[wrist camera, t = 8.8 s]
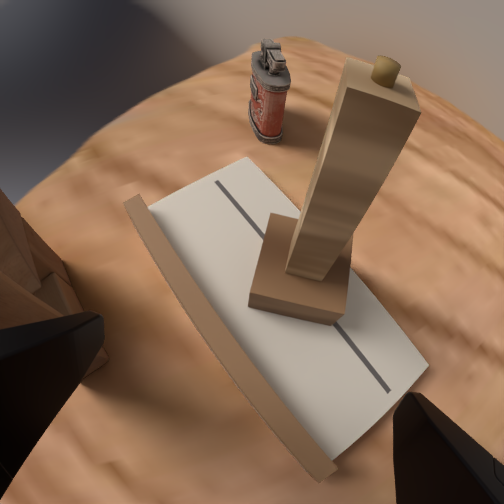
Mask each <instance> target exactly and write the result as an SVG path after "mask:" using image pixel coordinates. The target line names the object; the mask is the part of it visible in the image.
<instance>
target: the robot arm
mask: <svg viewBox="0 0 504 504" xmlns="http://www.w3.org/2000/svg"><path fill="white" fill-rule="evenodd" d="M104 339H105V335H104V318H103V316H102V315H101V314H99V313H97V312H94V311H92V310H89V311H85V312H80V313H76V314H71V315H67V316H62V317H57V318H53V319H48V320H43V321H38V322H34V323H29V324H24V325H19V326H14V327H10V328H5V329H0V500H1V498H2V496H3V495H4V493H5V491H6V490H7V488H8V487H9V485H10V484H11V482H12V480H13V478H14V477H15V475H16V474H17V472H18V471H19V469H20V468H21V466H22V465H23V463H24V461H25V460H26V458H27V457H28V455H29V454H30V452H31V451H32V450H33V448H34V447H35V445H36V444H37V442H38V441H39V439H40V438H41V436H42V435H43V434H44V432H45V431H46V429H47V428H48V426H49V425H50V424H51V422H52V421H53V419H54V418H55V417H56V415H57V414H58V412H59V411H60V410H61V408H62V407H63V405H64V404H65V403H66V401H67V400H68V399H69V397H70V396H71V395H72V393H73V392H74V391H75V389H76V388H77V386H78V385H79V384H80V382H81V381H82V379H83V377H84V376H85V374H86V372H87V371H88V369H89V367H90V366H91V364H92V362H93V360H94V359H95V357H96V355H97V354H98V352H99V350H100V349H101V347H102V345H103V343H104ZM393 462H394V475H395V488H396V504H504V465H502V464H501V463H500V462H499V461H498V460H497V459H496V458H493V456H492V455H491V454H490V453H489V452H488V451H486V450H485V449H484V448H483V447H482V446H481V445H480V444H478V443H477V442H476V441H475V440H474V439H473V438H472V437H470V436H469V435H468V434H467V433H466V432H465V431H464V430H462V429H461V428H460V427H459V426H458V425H457V424H456V423H454V422H453V421H452V420H451V419H450V418H449V417H448V416H446V415H445V414H444V413H443V412H442V411H441V410H440V409H438V408H437V407H436V406H435V405H434V404H433V403H432V402H430V401H429V400H428V399H427V398H426V397H425V396H423V395H422V394H421V393H417V392H408V393H407V394H406V395H405V396H404V398H403V399H402V401H401V403H400V404H399V406H398V407H397V409H396V410H395V412H394V415H393Z"/></svg>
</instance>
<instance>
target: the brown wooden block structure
mask: <svg viewBox="0 0 504 504" xmlns="http://www.w3.org/2000/svg"><path fill="white" fill-rule="evenodd" d="M80 312H84V310H83V308H82V306H81V304H80V302H79V300H78V298H77V296H76V293H75V291H74V289H73V288H72V287H71V282H70V280H69V278H68V275H67V273H66V271H65V268H64V266H63V263H62V261H61V258H60V257H59V256H58V255H57V254H56V253H55V252H54V251H53V250H52V249H51V248H50V247H49V246H48V245H47V244H46V243H45V242H44V241H43V240H42V239H41V237H40V236H39V235H38V234H37V233H36V232H35V231H34V230H33V229H32V228H31V226H30V225H29V224H28V223H27V222H26V221H25V220H24V218H22V217H21V214H20V212H19V211H18V210H17V209H16V208H15V206H14V205H13V204H12V203H11V202H10V200H9V199H8V198H7V197H6V195H5V194H4V193H3V192H2V190H1V189H0V329H5V328H10V327H14V326H19V325H24V324H29V323H34V322H38V321H43V320H48V319H53V318H57V317H62V316H67V315H71V314H76V313H80ZM108 360H109V358H108V355H107V354H106V352H105V350H104V348H103V346H102V347H101V349H100V350H99V352H98V354H97V355H96V357H95V359H94V360H93V362H92V364H91V366H90V367H89V369H88V371H87V372H86V374H85V376H84V377H86V376H87V375H89V374H90V373H92V372H93V371H95V370H96V369H97V368H99V367H100V366H102V365H103V364H105V363H106V362H107V361H108ZM84 377H83V378H84Z"/></svg>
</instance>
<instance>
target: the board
mask: <svg viewBox="0 0 504 504" xmlns="http://www.w3.org/2000/svg"><path fill="white" fill-rule="evenodd" d="M123 204H124V206H125V208H126V211H127V213H128V215H129V217H130V219H131V221H132V223H133V225H134V227H135V229H136V231H137V232H138V234H139V236H140V238H141V239H142V241H143V243H144V245H145V246H146V248H147V250H148V252H149V253H150V255H151V257H152V259H153V260H154V262H155V264H156V265H157V267H158V269H159V270H160V272H161V274H162V275H163V277H164V279H165V280H166V282H167V284H168V285H169V287H170V288H171V290H172V292H173V293H174V295H175V296H176V298H177V300H178V301H179V303H180V304H181V306H182V307H183V309H184V311H185V312H186V314H187V315H188V317H189V318H190V320H191V321H192V323H193V324H194V326H195V327H196V329H197V330H198V332H199V333H200V335H201V336H202V338H203V339H204V341H205V342H206V344H207V345H208V347H209V348H210V349H211V351H212V352H213V354H214V355H215V357H216V358H217V360H218V361H219V362H220V364H221V365H222V367H223V368H224V369H225V371H226V372H227V373H228V375H229V376H230V378H231V379H232V380H233V382H234V383H235V384H236V386H237V387H238V388H239V390H240V391H241V392H242V394H243V395H244V396H245V398H246V399H247V400H248V402H249V403H250V404H251V406H252V407H253V408H254V409H255V411H256V412H257V413H258V415H259V416H260V417H261V418H262V420H263V421H264V422H265V423H266V425H267V426H268V427H269V428H270V430H271V431H272V432H273V433H274V435H275V436H276V437H277V438H278V439H279V441H280V442H281V443H282V444H283V445H284V447H285V448H286V449H287V450H288V451H289V452H290V454H291V455H292V456H293V457H294V458H295V459H296V461H297V462H298V463H299V464H300V465H301V466H302V467H303V469H304V470H305V471H306V472H307V473H308V474H309V475H310V476H311V477H312V478H314V479H315V480H316V481H317V482H318V483H321V482H322V481H323V480H325V479H326V478H327V477H328V476H330V475H331V474H332V473H334V472H335V471H336V470H337V469H338V467H337V466H336V465H335V464H334V463H333V462H332V460H333V459H335V458H336V457H337V456H338V455H340V454H341V453H342V452H343V451H344V450H346V449H347V448H348V447H349V446H350V445H352V444H353V443H354V442H355V441H356V440H357V439H358V438H360V437H361V436H362V435H363V434H364V433H365V432H366V431H367V430H368V429H369V428H371V427H372V426H373V425H374V424H375V423H376V422H377V421H378V420H379V419H380V418H381V417H382V416H383V415H384V414H385V413H386V412H387V411H388V410H389V409H390V408H391V407H392V406H393V405H394V404H395V403H396V402H397V401H398V400H399V399H400V398H401V397H402V395H403V394H404V393H405V392H406V391H407V390H408V389H409V388H410V387H411V386H412V384H413V383H414V382H415V381H416V380H417V379H418V378H419V376H420V375H421V374H422V373H423V372H424V371H425V369H426V368H427V367H428V366H429V364H428V363H427V362H426V360H425V359H424V358H423V356H422V355H421V354H420V352H419V351H418V350H417V349H416V347H415V346H414V345H413V343H412V342H411V341H410V339H409V338H408V337H407V336H406V334H405V333H404V332H403V330H402V329H401V328H400V327H399V325H398V324H397V323H396V322H395V320H394V319H393V318H392V317H391V315H390V314H389V313H388V312H387V310H386V309H385V308H384V307H383V306H382V304H381V303H380V302H379V301H378V299H377V298H376V297H375V296H374V295H373V293H372V292H371V291H370V290H369V289H368V287H367V286H366V285H365V284H364V283H363V281H362V280H361V279H360V278H359V277H358V276H357V274H356V273H355V272H354V271H353V270H352V269H351V267H350V274H349V283H348V292H347V300H346V308H345V314H344V315H343V316H342V317H341V318H340V319H338V320H337V321H336V322H335V323H334V324H333V325H331V326H328V325H323V324H318V323H314V322H309V321H305V320H300V319H296V318H291V317H287V316H283V315H279V314H274V313H270V312H266V311H262V310H258V309H254V308H250V307H248V301H249V293H250V289H251V285H252V281H253V278H254V274H255V270H256V266H257V262H258V259H259V255H260V251H261V247H262V243H263V240H264V236H265V232H266V228H267V224H268V220H269V217H270V213H275V214H279V215H283V216H287V217H291V218H295V219H299V216H300V213H301V212H300V211H299V210H298V208H297V207H296V206H295V205H294V204H293V203H292V202H291V201H290V200H289V199H288V198H287V197H286V196H285V195H284V194H283V193H282V192H281V190H280V189H279V188H278V187H277V186H276V185H275V184H274V183H273V182H272V181H271V180H270V179H269V178H268V177H267V176H266V175H265V174H264V173H263V172H262V171H261V170H260V169H259V168H258V167H257V166H256V165H255V164H254V163H253V162H252V161H251V160H250V159H249V158H248V157H245V158H243V159H241V160H238V161H236V162H234V163H232V164H230V165H228V166H226V167H224V168H222V169H220V170H217V171H215V172H213V173H211V174H209V175H207V176H205V177H203V178H201V179H199V180H197V181H195V182H193V183H191V184H190V185H188V186H186V187H184V188H182V189H180V190H178V191H176V192H174V193H172V194H170V195H169V196H167V197H165V198H163V199H161V200H159V201H157V202H156V203H154V204H152V205H150V206H148V207H147V206H146V204H145V202H144V201H143V199H142V197H141V196H140V194H138V195H136V196H134V197H133V198H131V199H129V200H127V201H125V202H124V203H123Z"/></svg>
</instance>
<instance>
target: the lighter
mask: <svg viewBox="0 0 504 504" xmlns="http://www.w3.org/2000/svg"><path fill="white" fill-rule="evenodd" d="M251 67H252V71H253V74H252V75H251V80H250V88H251V99H250V100H249V111H248V115H249V122H250V125H251V127H252V130H253V132H254V133H255V135H256V137H257V138H258V140H259V141H260V142H262V143H265V144H276V143H278V142H280V141H281V138H282V120H283V114H284V108H285V101H286V95H287V90H289V88H290V83H291V79H290V73H289V71H288V69H287V66H286V60H285V58H284V57H283V55H282V54H281V46H280V43H274V41H273V40H272V39H267V38H264V39H262V40H261V51H257V52H254V53H252V61H251Z"/></svg>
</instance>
